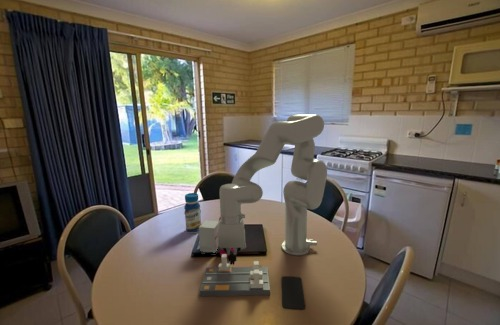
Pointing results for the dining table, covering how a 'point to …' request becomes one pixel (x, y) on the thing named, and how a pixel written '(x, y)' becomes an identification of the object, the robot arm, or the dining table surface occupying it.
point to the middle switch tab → (256, 267)
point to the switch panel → (232, 282)
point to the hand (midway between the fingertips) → (232, 262)
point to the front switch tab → (256, 281)
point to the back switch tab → (224, 264)
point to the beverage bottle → (192, 213)
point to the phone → (292, 293)
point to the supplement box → (208, 236)
